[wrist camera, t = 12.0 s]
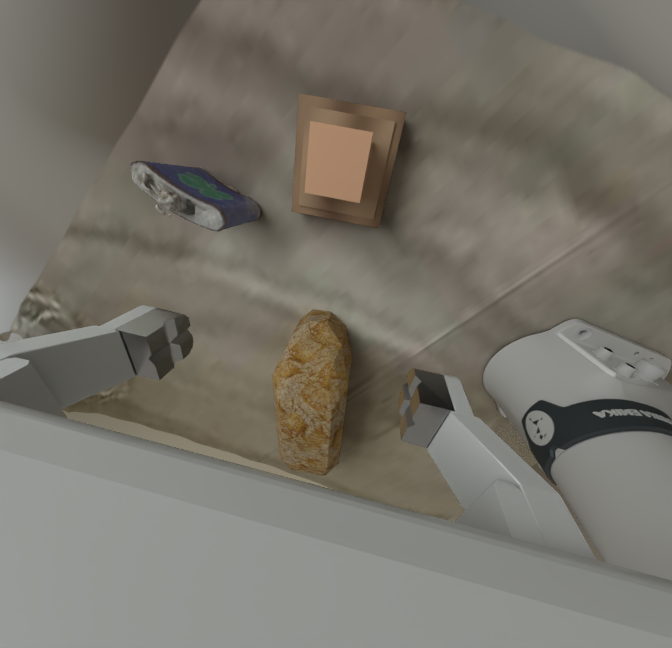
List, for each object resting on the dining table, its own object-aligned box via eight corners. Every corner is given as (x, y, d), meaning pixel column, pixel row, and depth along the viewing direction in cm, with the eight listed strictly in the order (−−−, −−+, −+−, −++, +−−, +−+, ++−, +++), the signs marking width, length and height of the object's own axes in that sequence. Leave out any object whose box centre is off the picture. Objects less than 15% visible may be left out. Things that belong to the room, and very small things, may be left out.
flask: (264, 205, 30) (215, 216, 21) (256, 227, 31) (207, 246, 22) (193, 161, 28) (107, 151, 19) (189, 186, 30) (106, 188, 21)
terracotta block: (373, 141, 23) (373, 132, 19) (361, 199, 26) (359, 203, 21) (321, 132, 23) (310, 120, 19) (315, 190, 26) (304, 192, 22)
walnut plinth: (403, 118, 24) (406, 111, 22) (378, 224, 29) (378, 228, 27) (305, 101, 24) (298, 92, 22) (297, 209, 29) (291, 211, 27)
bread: (285, 305, 37) (259, 342, 28) (357, 314, 36) (352, 355, 27) (292, 446, 55) (277, 494, 47) (339, 454, 54) (333, 505, 46)
